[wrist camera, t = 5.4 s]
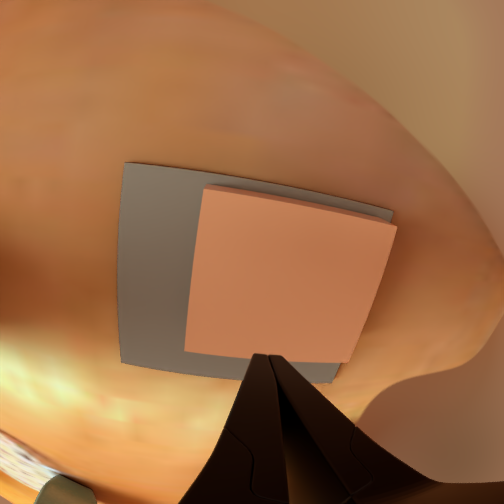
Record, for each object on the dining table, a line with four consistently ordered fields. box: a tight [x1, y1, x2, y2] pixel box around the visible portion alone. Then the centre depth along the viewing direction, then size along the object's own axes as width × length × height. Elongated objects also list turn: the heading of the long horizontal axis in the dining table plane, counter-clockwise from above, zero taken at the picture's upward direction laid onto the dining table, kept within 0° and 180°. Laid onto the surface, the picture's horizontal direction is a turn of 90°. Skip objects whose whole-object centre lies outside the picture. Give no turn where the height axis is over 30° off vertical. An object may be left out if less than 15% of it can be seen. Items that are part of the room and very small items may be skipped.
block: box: [184, 184, 397, 363], centre depth 14 cm, size 8×2×9 cm
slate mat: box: [117, 162, 394, 383], centre depth 16 cm, size 12×14×1 cm
